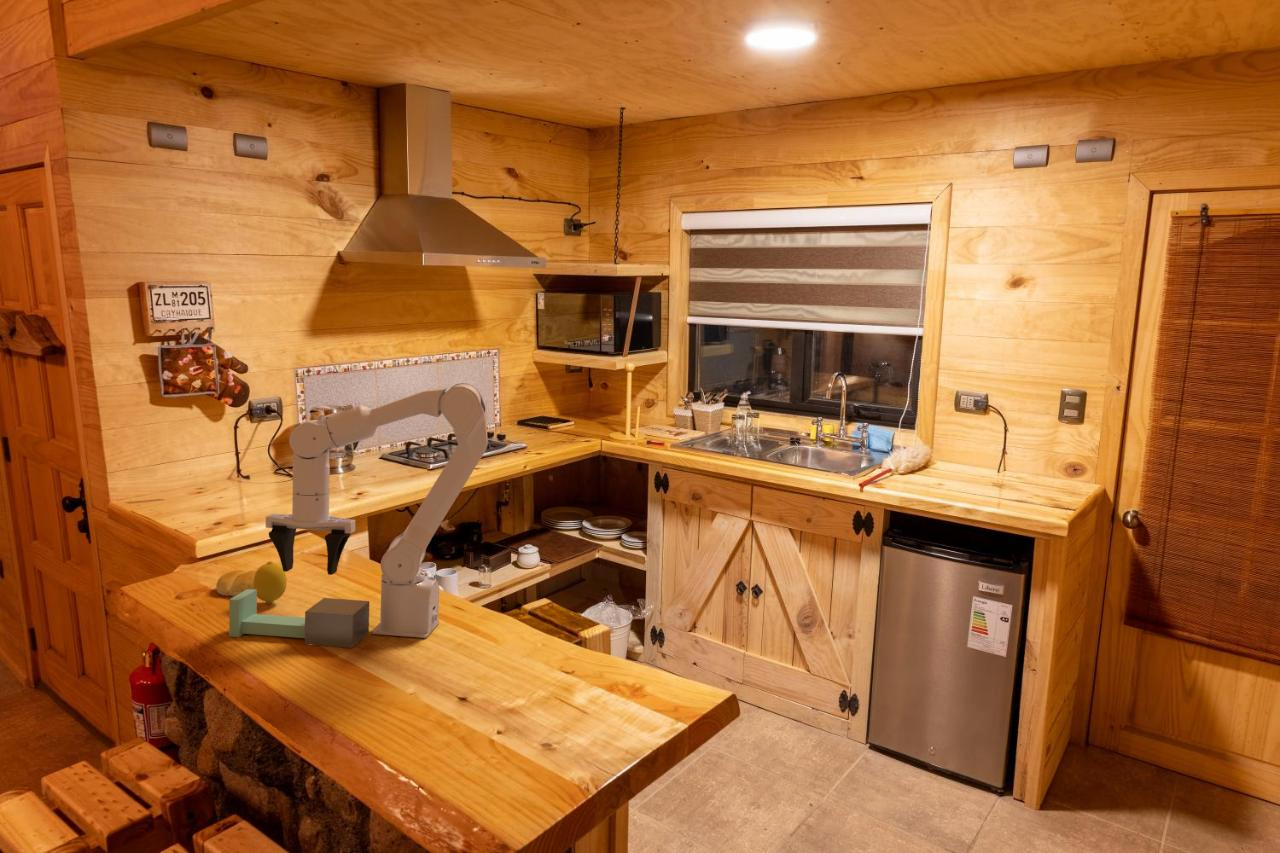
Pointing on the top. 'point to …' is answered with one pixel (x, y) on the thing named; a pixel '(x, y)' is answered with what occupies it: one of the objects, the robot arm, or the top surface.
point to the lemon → (270, 582)
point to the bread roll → (235, 582)
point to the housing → (337, 622)
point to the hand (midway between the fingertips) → (310, 571)
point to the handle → (260, 619)
